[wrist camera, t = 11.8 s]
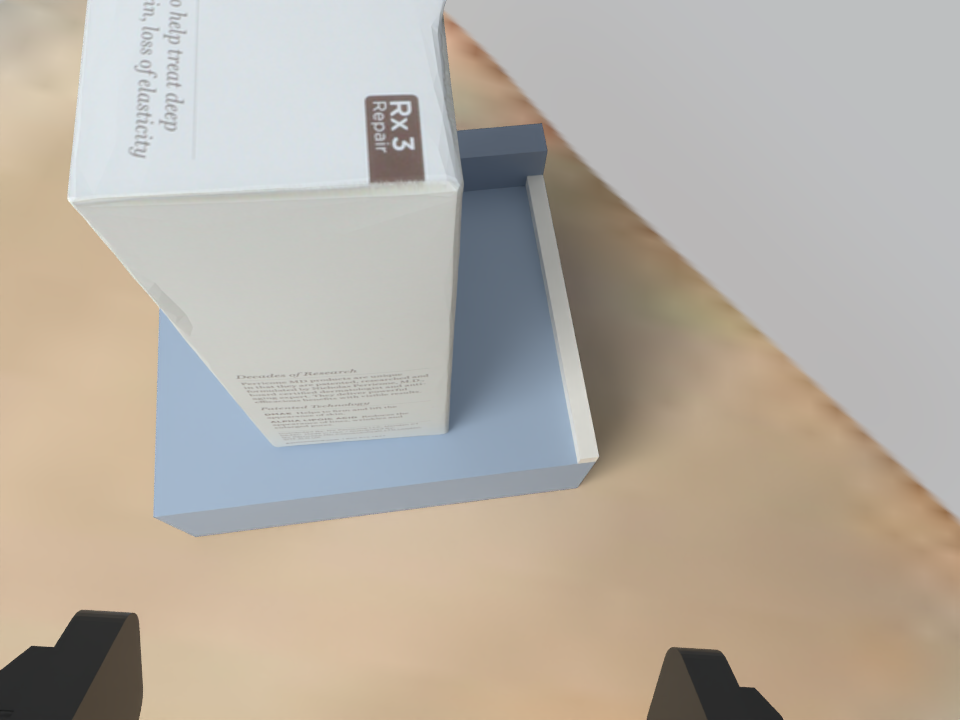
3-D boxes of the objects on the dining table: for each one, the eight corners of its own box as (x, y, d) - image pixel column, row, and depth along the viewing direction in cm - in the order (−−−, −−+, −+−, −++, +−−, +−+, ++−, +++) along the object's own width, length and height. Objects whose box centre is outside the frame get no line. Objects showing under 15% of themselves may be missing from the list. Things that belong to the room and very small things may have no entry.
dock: (526, 216, 32) (541, 123, 27) (576, 488, 28) (607, 445, 22) (197, 248, 31) (141, 158, 25) (195, 537, 27) (126, 504, 21)
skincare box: (275, 238, 27) (85, -210, 13) (442, 227, 27) (429, -220, 13) (274, 464, 24) (21, 193, 10) (462, 448, 24) (473, 165, 10)
